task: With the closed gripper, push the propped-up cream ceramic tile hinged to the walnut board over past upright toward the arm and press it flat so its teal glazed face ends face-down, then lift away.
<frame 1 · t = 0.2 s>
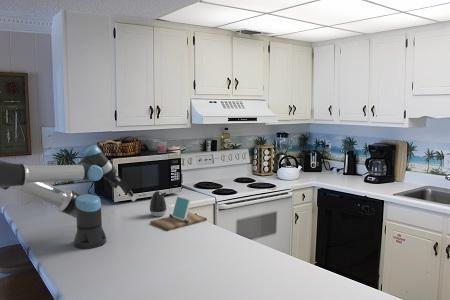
hand: (129, 197, 223), 16 cm above the countertop, tool tilted 35°, fingers open, 13 cm apart
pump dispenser: (158, 215, 243), on the countertop
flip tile: (181, 208, 229), point 8 cm above the countertop, hinge at 70.0°
walnut board: (178, 222, 229), on the countertop
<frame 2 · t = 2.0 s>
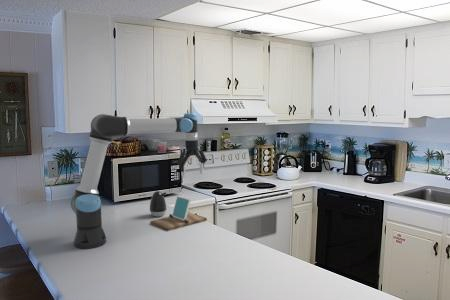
hand: (192, 175, 233), 26 cm above the countertop, tool pointing down, fingers open, 13 cm apart
nothing on the countertop moved.
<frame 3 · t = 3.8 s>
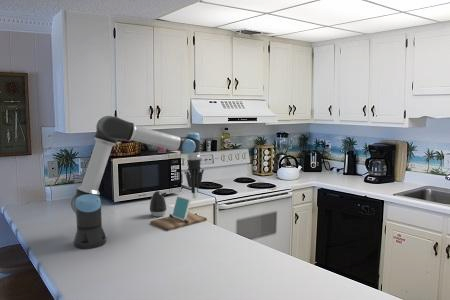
hand: (195, 198, 235), 12 cm above the countertop, tool pointing down, fingers closed
nothing on the countertop moved.
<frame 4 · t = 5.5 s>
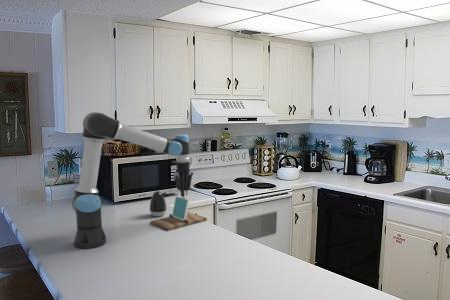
hand: (184, 201, 230), 11 cm above the countertop, tool pointing down, fingers closed
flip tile: (180, 207, 229), point 8 cm above the countertop, hinge at 75.1°, touching gripper
everything else where it was.
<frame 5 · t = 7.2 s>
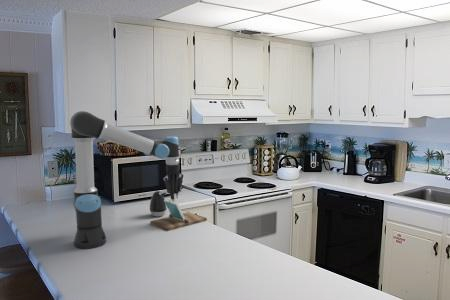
hand: (174, 204, 226), 11 cm above the countertop, tool pointing down, fingers closed
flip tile: (174, 210, 226), point 8 cm above the countertop, hinge at 116.4°, touching gripper
everything else where it was.
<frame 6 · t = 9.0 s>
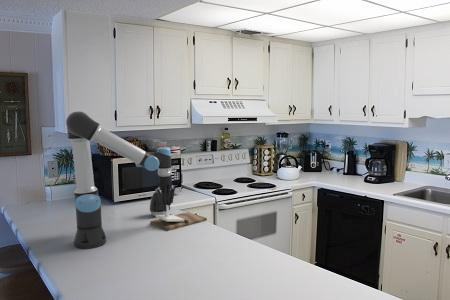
hand: (166, 216, 223), 5 cm above the countertop, tool pointing down, fingers closed
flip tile: (170, 218, 224), point 4 cm above the countertop, hinge at 168.0°, touching gripper
everything else where it was.
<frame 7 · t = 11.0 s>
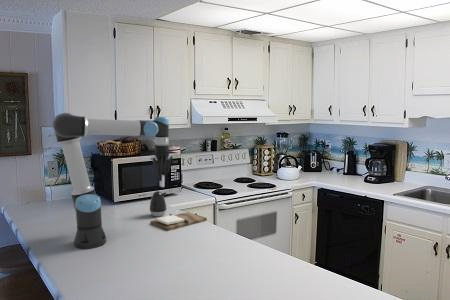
hand: (162, 186, 221), 22 cm above the countertop, tool pointing down, fingers closed
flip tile: (170, 219, 224), point 3 cm above the countertop, hinge at 176.7°
everything else where it was.
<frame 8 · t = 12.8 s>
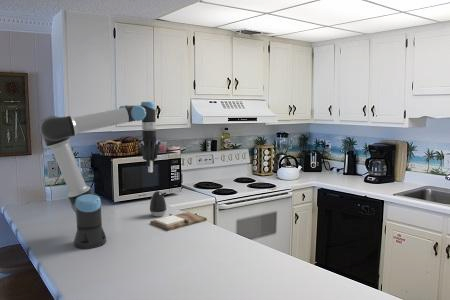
hand: (150, 172, 220), 30 cm above the countertop, tool pointing down, fingers closed
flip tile: (170, 220, 224), point 2 cm above the countertop, hinge at 180.8°, touching walnut board
everything else where it was.
at the end: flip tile at +181° (first picture: +70°); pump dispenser moved 0.2 cm from its start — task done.
